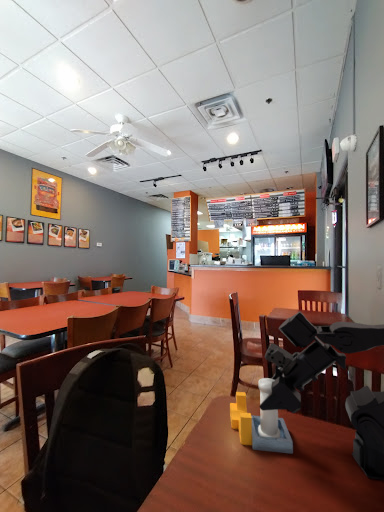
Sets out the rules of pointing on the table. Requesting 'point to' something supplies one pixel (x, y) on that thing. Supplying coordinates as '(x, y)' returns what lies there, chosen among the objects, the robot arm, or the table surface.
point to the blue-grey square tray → (271, 438)
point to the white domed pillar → (267, 412)
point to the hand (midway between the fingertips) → (262, 399)
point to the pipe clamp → (241, 418)
